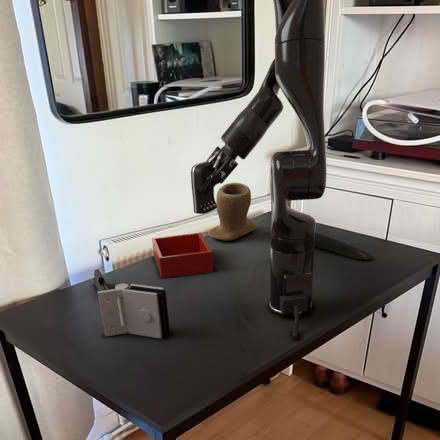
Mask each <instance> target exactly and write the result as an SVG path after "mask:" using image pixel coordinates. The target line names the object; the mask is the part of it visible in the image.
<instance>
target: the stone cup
mask: <svg viewBox="0 0 440 440" xmlns="http://www.w3.org/2000/svg"><path fill="white" fill-rule="evenodd" d="M215 198H216V199H215V202H216V204H217V209H216V213H217V216H218V219H219V225H217V226H216V227H213V228H212V229H210V230H209V231H208V235H209V236H210V237H211V238H213V239H215V240H220V241H226V242H227V241H233V240H235V239H239V238H241V237H243V236H245V235H247V234H249V233H251V232H253V231H255V230H256V229H257V226H256V224H254V223H253V221H252V220H250V219H249V217H248V213H249V210H250V207H251V203H252V192H251V189H250V187H249V186H248V185H246V184H244V183H241V182H228V183H225V184H223V185H222V186H221V187H219V188H218V190H217V191H216V197H215Z"/></svg>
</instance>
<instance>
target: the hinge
mask: <svg viewBox="0 0 440 440" xmlns="http://www.w3.org/2000/svg"><path fill="white" fill-rule="evenodd" d="M114 287H115V288H113V289H109V290H105V291H97V298H98V303H99V308H100V314H101V315H100V316H101V319H102V326H103V331H104V332H103V333H104V337H111V336H118V335H122V334H129V335H130V334H131V335H137V336H143V337H148V338H155V339H160V340H161V339H162V338H163V339H164V338H165V339H166V338H168V336H169V335H171V329H170V319H169V310H168V300H167V299H168V298H167V290H166V289H165V288H164V287H161V286H151V285H144V284H137V283H131V284H127V283H118V284H116V285H115V286H114ZM107 298H109V299H110V301H109V302H107V301H106V299H107ZM111 326H113V327H111Z"/></svg>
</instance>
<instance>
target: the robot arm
mask: <svg viewBox="0 0 440 440" xmlns="http://www.w3.org/2000/svg"><path fill="white" fill-rule="evenodd" d="M272 2H273V8H274V18H275V19H274V21H275V37H274V58H273V60H272V61H271V63H270V66H269V68H268V70H267V72H266V74H265V76H264V79H263V81H262V83H261V84H260V87H259V89H258V92H256V94H255V95H254V96H253V98H252V99H251V100H250V101H249V103H248V104H247V105H246V107H245V108H244V109H242V110H241V112H239V113H238V115H237V116H236V117H235V119H234V120H233V121H232V122H231V123H230V125H229V126H228V128H227V129H226V130H225V131H224V133H223V134H222V135H221V137H220V140H221V141H222V142H223V143H224V145H223V146H222V147H221V148H220V146H216V147H215V148H214V150H213V151H212V152H211V154H210V155H209V157H208V158H207V159H206V161H205V162H211V163H214V166H213V172H212V174H211V175H210V178H211V179H210V178H208V179H207V181H206V182H205V183H204V184H203V186H202V187H201V188H200V191H201V192H202V193H203V194H204V195H205V196H207V195H208V194H209V193H210V192H211V190H212V189H213V188H214V189H215V187H216V185H219V184H220V185H222V184H223V183H224V182H225V181H226V180H227V178H228V177H229V176H230V175H231V174H232V173H233V172H234V170H235V169H237V167H238V165H239V163H238V162H237V161H236V160H237V158H238V157H239V158H240V160H245V159H247V157H248V156H249V155H250V154H251V152H252V151H253V150H254V149H255V147H256V146H257V145H258V144H259V142H260V141H261V140H262V139H263V137H264V136H265V135H266V133H267V131H268V130H269V129H270V127H271V126H272V125H273V124H274V122H275V121H276V120H277V119H278V118H279V116H280V115H281V113H283V110H284V104H283V102H282V100H281V98H280V97H279V96H278V94H279V91H280V90H281V91H282V93H283V95H284V97H285V98H286V100H287V101H288V103H289V104H290V106H291V107H292V109H293V111H294V113H295V115H296V116H297V118H298V120H299V122H300V124H301V127H302V129H303V133H304V136H305V140H306V146H307V149H298V150H282V151H276V152H274V154H273V155H272V156H271V160H270V166H269V182H270V183H269V184H270V206H271V207H270V270H269V271H270V277H269V278H270V279H269V281H270V283H269V284H270V285H269V286H270V287H269V309H270V311H272V312H273V313H274V314H277V315H278V316H279V315H280V316H282V317H283V318H290V317H294V322H293V326H292V338H293V340H297V339H298V338H299V335H298V328H299V323H300V316H305V315H311V310H312V306H313V303H312V301H313V300H312V299H313V298H312V297H313V279H314V259H315V247H314V246H315V233H316V228H317V225H316V224H317V223H316V220H315V218H314V217H313V216H311V215H310V214H308V213H305V212H301V211H299V210H296V209H294V208H292V207H291V206H289V205H288V202H289V201H290V202H291V201H307V200H318V199H321V198H322V197H323V195H324V194H325V191H326V188H327V187H326V186H327V153H326V152H327V151H326V150H327V149H326V136H325V115H324V114H325V112H324V111H325V110H324V109H325V108H324V105H325V103H324V102H325V100H324V99H325V97H324V96H325V94H324V93H325V66H326V65H325V64H326V39H325V38H326V37H325V36H326V35H325V3H324V2H325V1H324V0H272ZM216 183H217V184H216Z"/></svg>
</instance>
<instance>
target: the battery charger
mask: <svg viewBox="0 0 440 440" xmlns="http://www.w3.org/2000/svg"><path fill="white" fill-rule="evenodd" d="M213 166H214V163H211V162H206V161H202V162H199V163H196V164H194V165H192V167H191V169H190V183H191V184H190V185H191V191H192V192H191V193H192V205H193V213H194V214H196V215H198V214H199V215H205V214H209V213H211V212H214V211H215V210H217V204H216V199H215V198H216V197H215V187H214V188H213V189H212V190H211V192H210V193H209V194H208V195H207V196H205V195H204V194H203V193H202V192H201V191H200V188H201V187H202V186H203V184H204V183H205V182H206V181H207V179H208V178H210V175H211V174H212V172H213ZM210 179H211V178H210ZM216 185H218V184H217V183H216Z"/></svg>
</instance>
